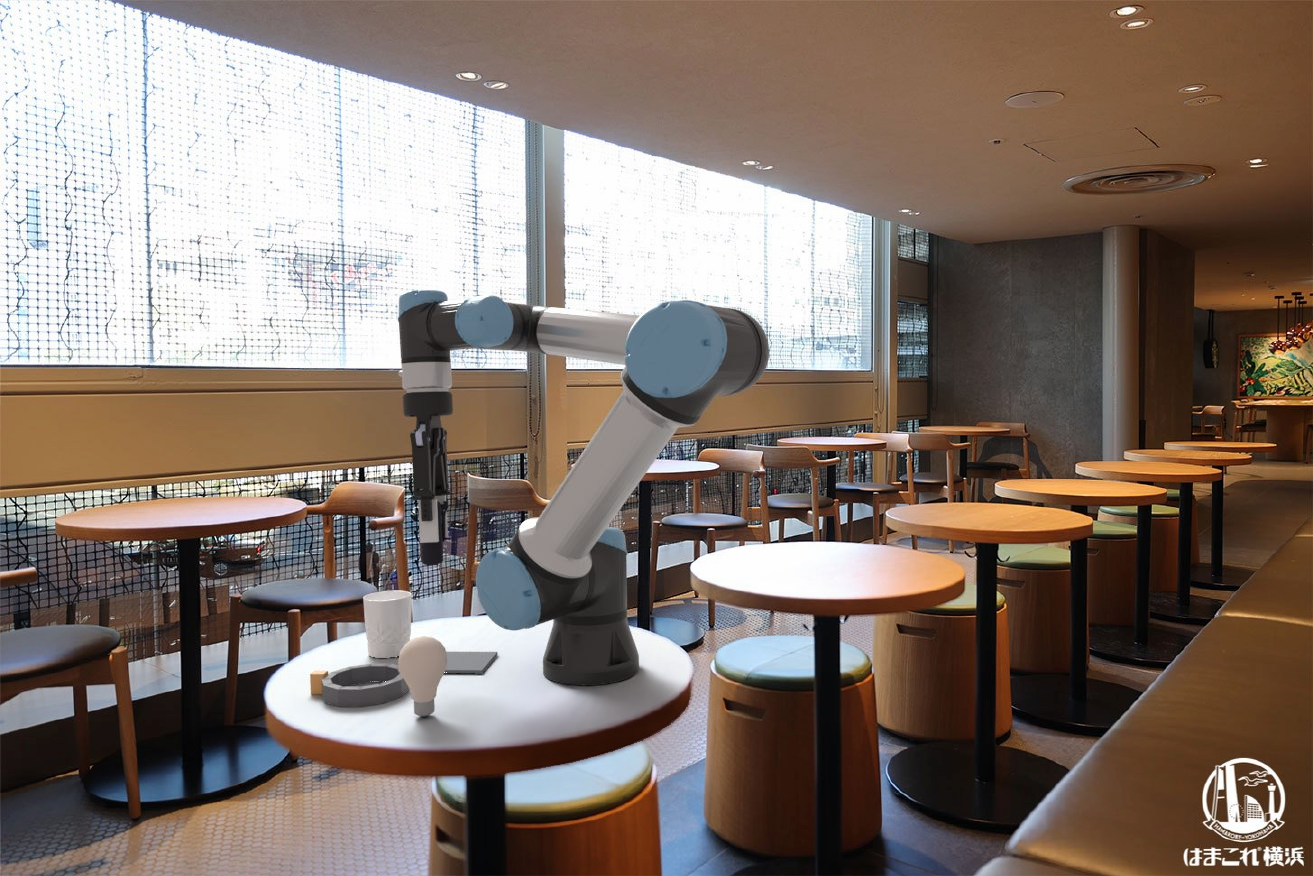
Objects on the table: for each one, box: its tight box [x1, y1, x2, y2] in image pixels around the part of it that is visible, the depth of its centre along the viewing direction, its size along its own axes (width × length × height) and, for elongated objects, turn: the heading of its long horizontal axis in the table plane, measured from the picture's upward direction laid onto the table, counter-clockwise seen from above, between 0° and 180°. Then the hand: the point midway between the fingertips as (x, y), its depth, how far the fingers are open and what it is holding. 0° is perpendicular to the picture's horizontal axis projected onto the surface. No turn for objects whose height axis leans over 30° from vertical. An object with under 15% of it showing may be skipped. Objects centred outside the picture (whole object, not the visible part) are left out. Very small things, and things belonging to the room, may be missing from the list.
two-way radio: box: [418, 500, 449, 567], centre depth 137 cm, size 6×4×15 cm
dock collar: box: [309, 663, 410, 708], centre depth 129 cm, size 14×12×3 cm
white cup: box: [362, 589, 413, 659], centre depth 149 cm, size 8×8×10 cm
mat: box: [445, 651, 498, 675], centre depth 142 cm, size 10×10×1 cm
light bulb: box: [397, 635, 448, 718], centre depth 119 cm, size 7×7×11 cm
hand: (434, 539), depth 137 cm, fingers closed on two-way radio, 5 cm apart
